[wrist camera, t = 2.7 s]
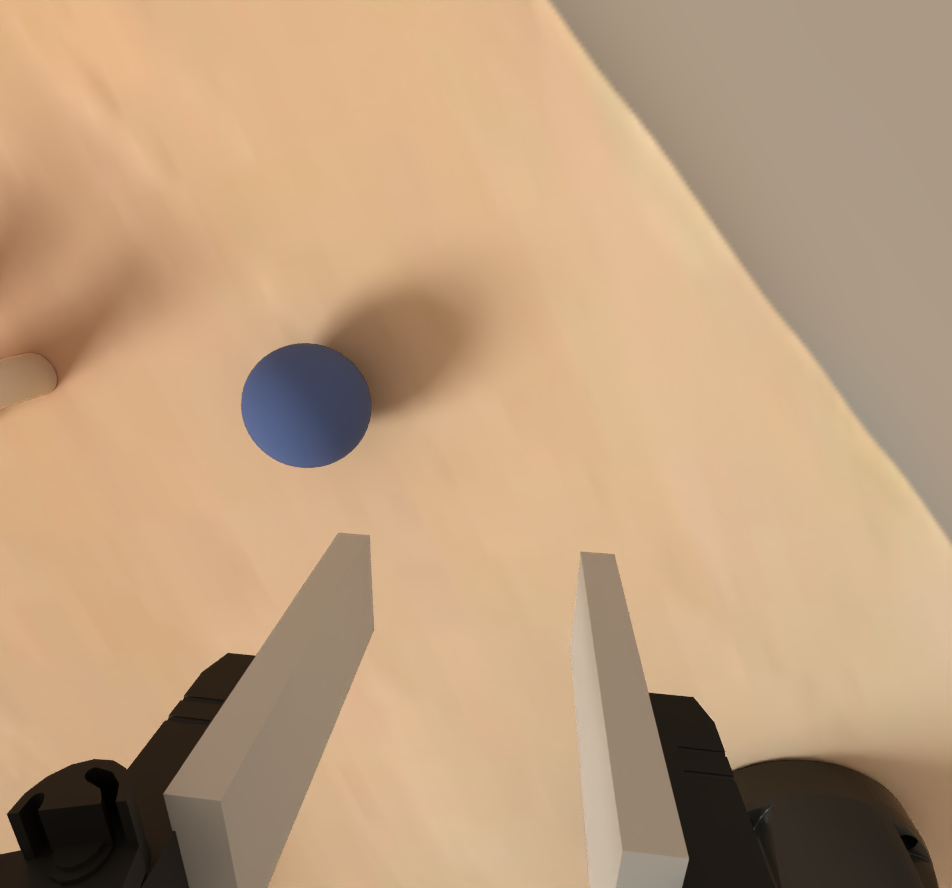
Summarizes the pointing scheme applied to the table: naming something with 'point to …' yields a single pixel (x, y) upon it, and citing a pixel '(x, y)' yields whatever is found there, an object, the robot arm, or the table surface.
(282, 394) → the ball
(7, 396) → the pin
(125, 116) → the table surface
